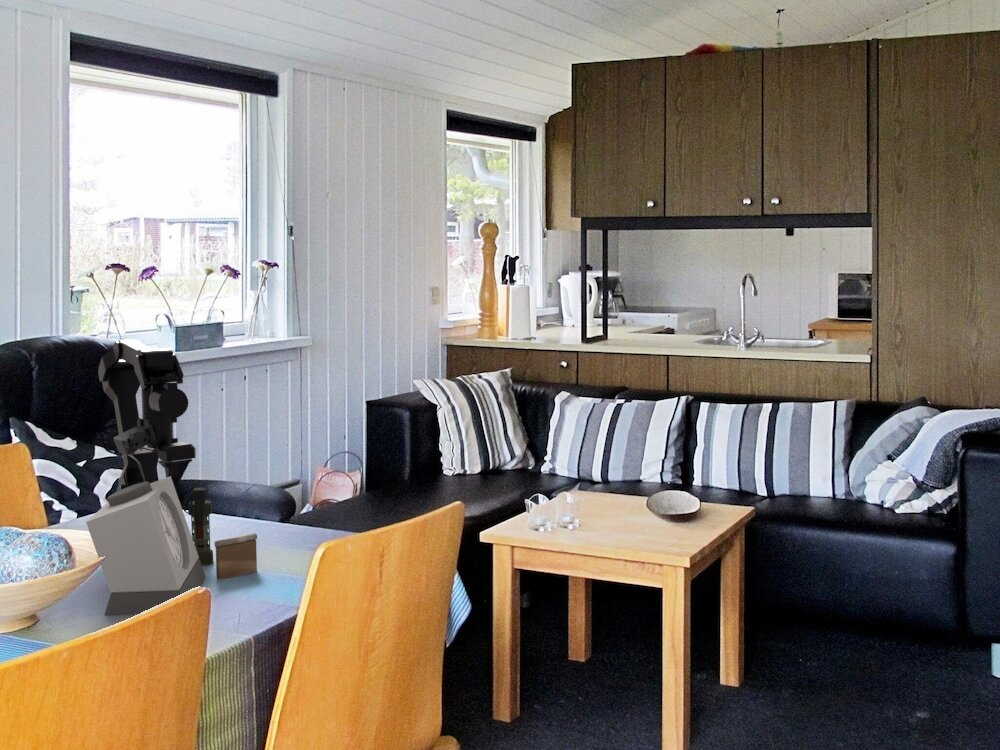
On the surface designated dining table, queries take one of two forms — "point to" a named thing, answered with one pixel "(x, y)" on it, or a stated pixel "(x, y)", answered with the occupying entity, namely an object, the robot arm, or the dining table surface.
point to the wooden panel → (236, 556)
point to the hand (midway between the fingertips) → (160, 490)
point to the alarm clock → (145, 547)
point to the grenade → (200, 523)
